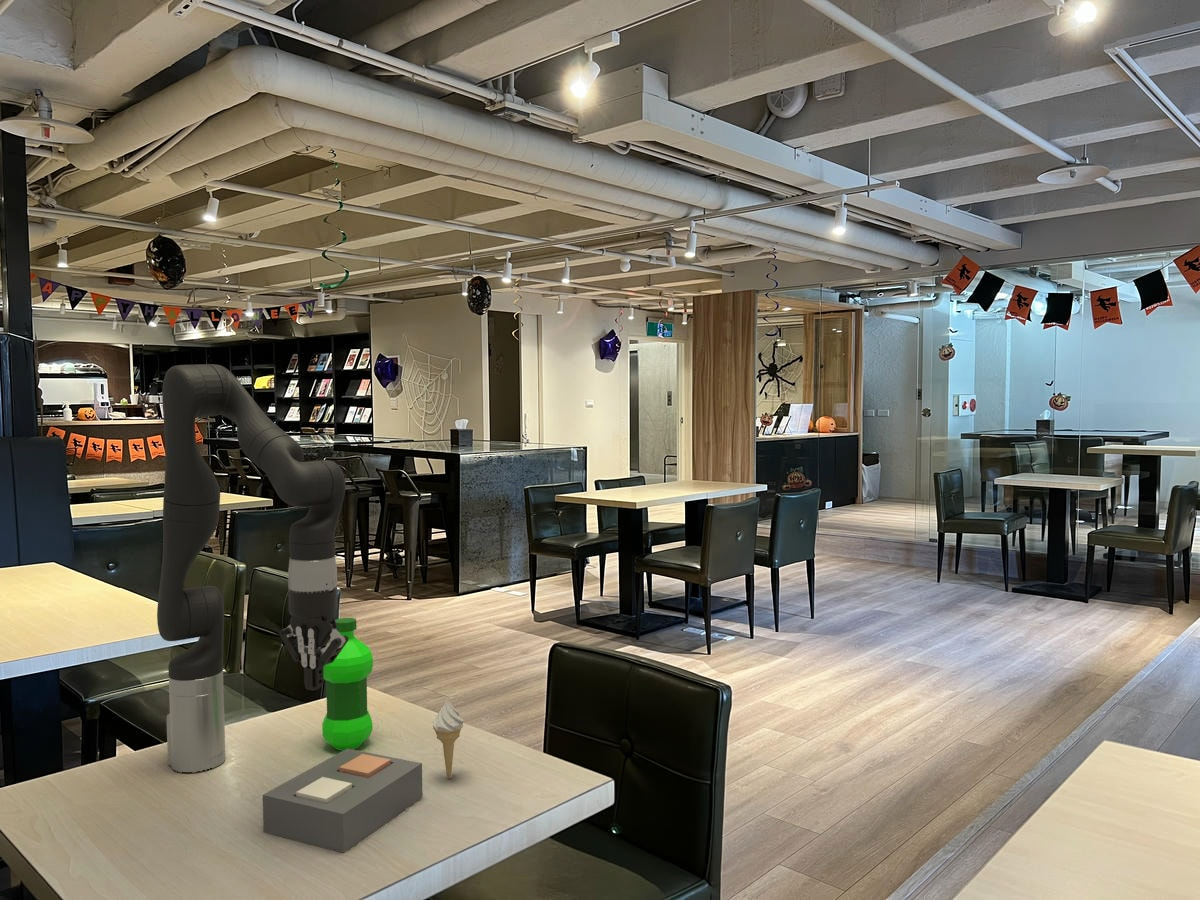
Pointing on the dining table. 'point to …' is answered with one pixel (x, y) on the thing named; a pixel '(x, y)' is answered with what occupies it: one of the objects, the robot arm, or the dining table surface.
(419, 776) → the block
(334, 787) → the white key
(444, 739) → the ice cream cone
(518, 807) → the dining table surface
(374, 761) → the terracotta key
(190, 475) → the robot arm
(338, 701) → the plastic bottle
